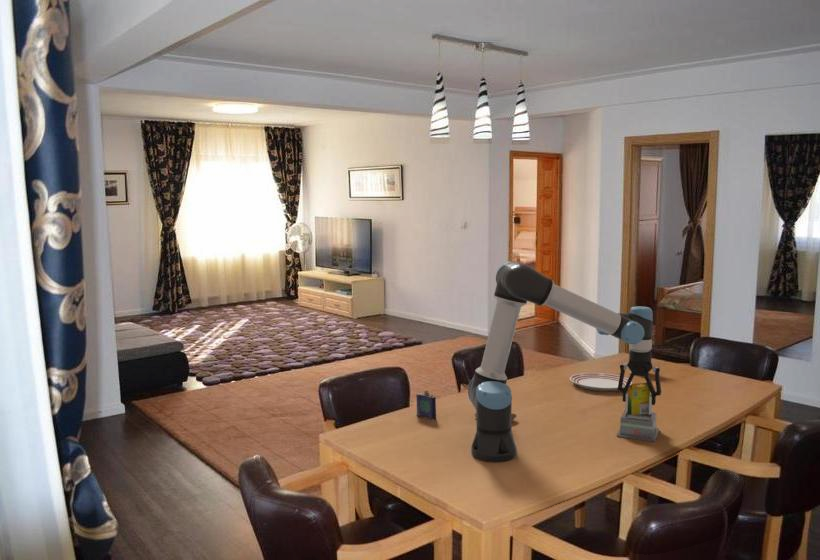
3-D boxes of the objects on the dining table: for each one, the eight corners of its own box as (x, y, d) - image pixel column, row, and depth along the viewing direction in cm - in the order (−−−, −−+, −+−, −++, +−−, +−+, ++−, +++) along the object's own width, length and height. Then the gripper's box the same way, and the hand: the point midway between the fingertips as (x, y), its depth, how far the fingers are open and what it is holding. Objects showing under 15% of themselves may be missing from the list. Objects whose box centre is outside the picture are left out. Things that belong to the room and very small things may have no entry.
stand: (655, 442, 226) (655, 423, 225) (616, 436, 232) (617, 418, 231) (659, 430, 237) (659, 412, 236) (622, 425, 243) (622, 407, 242)
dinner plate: (582, 375, 315) (582, 368, 314) (639, 383, 299) (640, 376, 298) (560, 388, 293) (560, 381, 292) (620, 398, 277) (620, 391, 276)
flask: (415, 415, 258) (415, 389, 257) (419, 413, 260) (419, 387, 259) (433, 420, 252) (433, 393, 251) (438, 418, 255) (438, 391, 253)
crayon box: (645, 411, 236) (646, 380, 234) (650, 414, 233) (651, 382, 231) (627, 412, 234) (627, 381, 233) (631, 415, 231) (632, 383, 230)
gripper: (671, 350, 230) (669, 412, 232) (612, 345, 239) (611, 405, 241) (669, 354, 223) (667, 418, 226) (609, 349, 232) (607, 411, 235)
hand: (638, 411), depth 233 cm, fingers closed on crayon box, 7 cm apart
